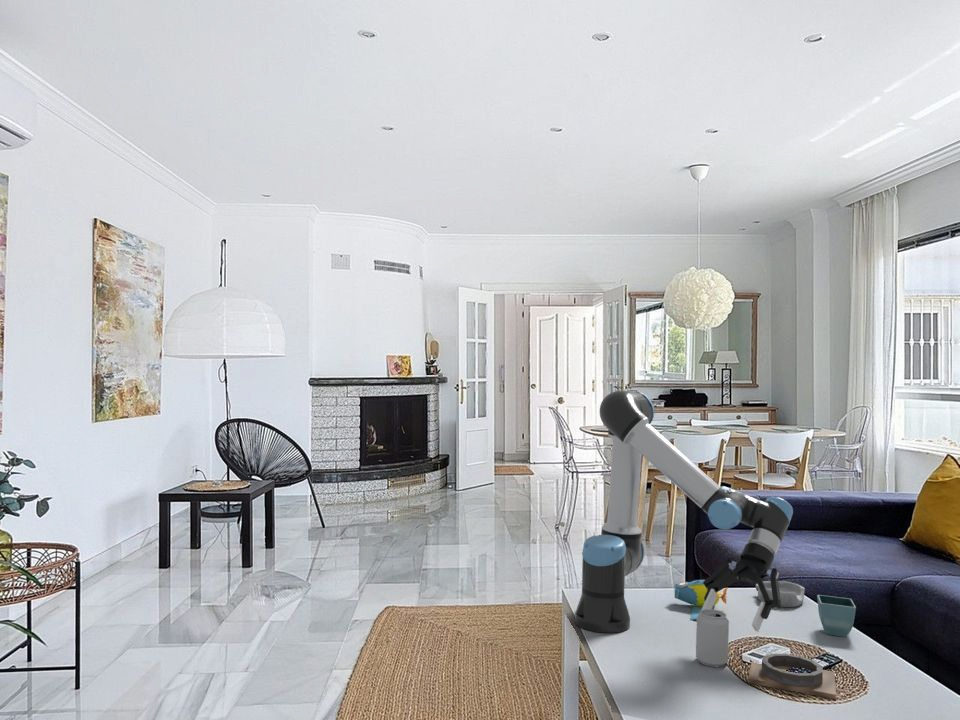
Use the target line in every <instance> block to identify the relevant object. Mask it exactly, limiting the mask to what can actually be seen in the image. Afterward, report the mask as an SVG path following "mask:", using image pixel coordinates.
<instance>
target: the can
mask: <svg viewBox="0 0 960 720" xmlns="http://www.w3.org/2000/svg"><path fill="white" fill-rule="evenodd" d="M729 623H730V621H729V618H727V614H726V613H725V612H723V611H721V610H718V609H714V610H712V609H704V610H701V611H700V614H699V615H698V616H697V621H696V630H695V631H696V633H695V634H696V639H695V640H696V641H695V658H696V659H697V660H698V661H699V662H700V663H701V664H702V665H705V666H708V667H713V668H715V667H716V668H718V667H724V666H725V664H727V663H728V662H729V629H730V628H729V626H730V625H729Z"/></svg>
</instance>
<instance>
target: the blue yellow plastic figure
mask: <svg viewBox="0 0 960 720" xmlns="http://www.w3.org/2000/svg"><path fill="white" fill-rule="evenodd" d="M705 580H706V579H693V580H692V581H681V582H678V583H677V582H676V583H675V584H674V599H677V600H679V601H681V602H685V603H686V604H690V605H692V606H693V607H692V610H691V615H690V617H691V618H689V619H690V620H689V621H693V622H697V616H698V615H699V614H700V611H701V609H702V607H703V605H704V603H705V600H704V597H705V595H706V593H707V588H706V587H705V585H704V584H703V582H704V581H705ZM727 592H728V587H726V588H724V590H723V591H722V592H721V593H720V591H718V592H717V595H718V596H717V598H716V600H715V603H714V605H713V607H712V610H715V608H716V604H718V603H719V600H720V599H721V600H722V602H723V603H724V604H726V605H727V597H728V595H727Z"/></svg>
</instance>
